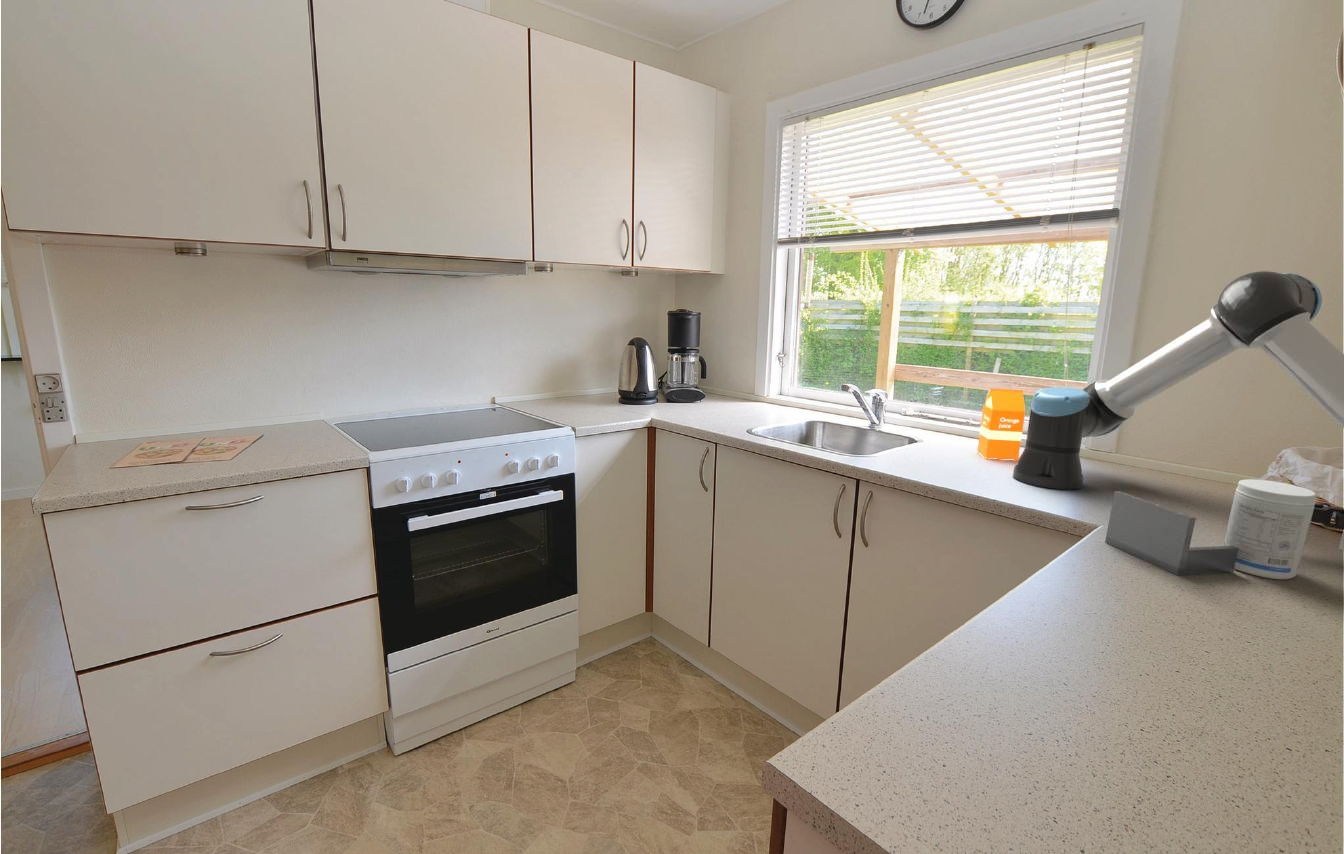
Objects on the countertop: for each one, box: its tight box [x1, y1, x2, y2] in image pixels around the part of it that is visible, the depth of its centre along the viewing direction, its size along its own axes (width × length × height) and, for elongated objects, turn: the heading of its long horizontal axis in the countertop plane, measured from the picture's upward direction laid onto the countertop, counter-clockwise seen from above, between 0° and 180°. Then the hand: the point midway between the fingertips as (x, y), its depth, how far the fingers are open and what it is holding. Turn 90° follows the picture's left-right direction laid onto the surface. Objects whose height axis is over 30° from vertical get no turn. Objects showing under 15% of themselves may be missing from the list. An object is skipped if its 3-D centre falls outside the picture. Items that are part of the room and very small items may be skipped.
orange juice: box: [977, 388, 1026, 461], centre depth 174 cm, size 8×9×20 cm
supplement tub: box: [1222, 478, 1317, 580], centre depth 101 cm, size 10×10×15 cm
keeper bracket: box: [1104, 490, 1239, 576], centre depth 106 cm, size 14×11×10 cm
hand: (1293, 525), depth 101 cm, fingers open, 13 cm apart
